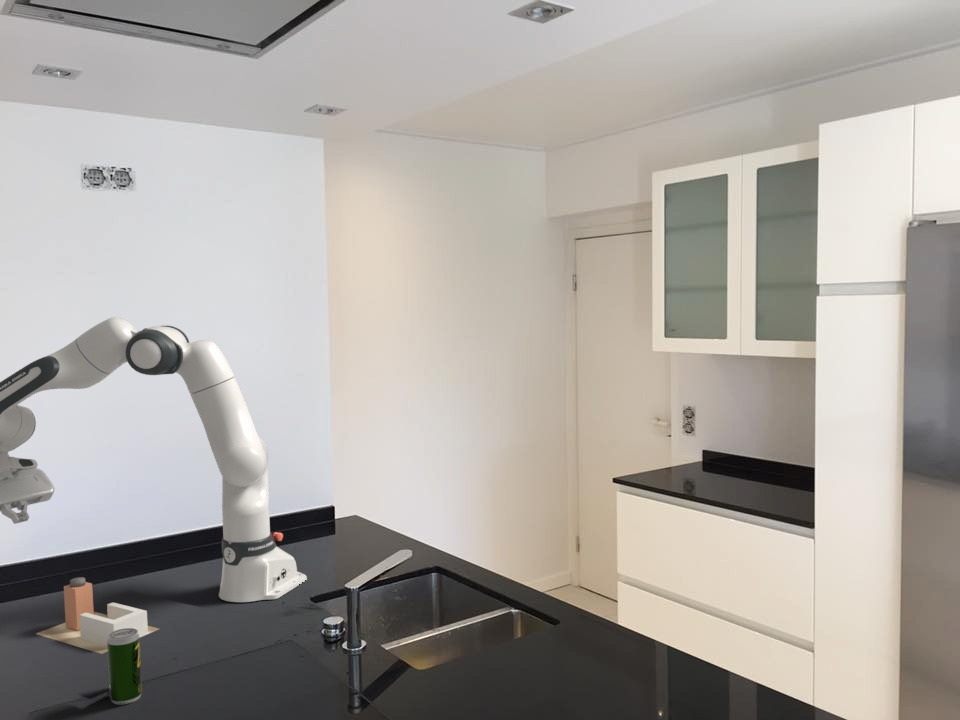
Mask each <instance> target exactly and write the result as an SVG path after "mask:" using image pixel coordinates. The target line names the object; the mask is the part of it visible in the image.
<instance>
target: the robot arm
mask: <svg viewBox="0 0 960 720" xmlns="http://www.w3.org/2000/svg"><path fill="white" fill-rule="evenodd" d="M125 363H128V365H129V366H130V368H132V369H133V370H134V371H135V372H137V373H139V374H142V375H145V376H160V375H173V374H178V375H179V376H181V378H182V379H183V381H184V383H185V385H186V388H187V390H188V393H189V394H190V398H191V400H192V402H193V405H194V406H195V409H196V411H197V413H198V416H199V417H200V420H201V423H202V425H203V429H204V431H205V434H206V437H207V440H208V443H209V447H210V449H211V452H212V454H213V457H214V459H215V462H216V465H217V467H218V470H219V473H220V474H221V476H222V479H221V480H222V481H221V482H222V486H221V487H222V493H221V494H222V495H221V496H222V502H221V506H222V507H221V510H222V534H223V535H222V536H223V537H222V538H221V554H222V557H223V558H222V568H221V579H220V580H221V581H220V584H219V592H218V598H219V599H220V600H223V601H225V602H230V603H251V602H256V601H257V602H258V601H262V600H263V601H265V600H277V599H279V598H280V597H283V595H286V594H287V593H288V592H290V591H292V590H294V589H296V587H298V586H300V585H301V584H303V583H304V582H306V581H307V580H308V577H307V575H306V574H304V573H302V572H300V571H298V567H297V562H296V560H295V557H293V556H292V555H291V554H290V553H288V552H286V551H284V550H283V549H281V548H280V547H278V546H277V544H276V541H278V542H282V540H283V538H284V534H283V533H282V532H273V533H272V532H271V525H270V524H271V521H270V492H269V491H270V490H269V489H270V488H269V487H270V486H269V460H268V459H269V456H268V455H269V454H268V447H267V445H266V443H265V441H264V439H262V437H260V436H259V435H258V433H257V429H256V427H255V424H254V422H253V418H252V416H251V413H250V410H249V407H248V404H247V403H246V400H245V398H244V396H243V392H242V390H241V388H240V386H239V383H238V381H237V378H236V376H235V374H234V371H233V370H232V367H231V366H230V363H229V362H228V360H227V358H226V357H225V355H224V353H223V351H222V350H221V348H220V347H219V346H218V344H217V343H215V342H214V341H212V340H209V339H208V340H207V339H201V340H196V341H192V342H190V340H189V337H188V336H187V335H186V333H185V332H184V331H183V330H181V329H179V328H177V327H175V326H172V325H155V326H150V327H146V328H143V329H142V330H138V329H137V328H136V327H135V326H134V325H133V324H132V323H131V322H129V321H128V320H126V319H124V318H121V317H117V316H115V317H110V318H107V319H105V320H103V321H101V322H99V323H98V324H95V325H94V326H93V327H91V328H89V329H88V330H86V331H85V332H83V333H82V334H80V335H79V336H77V338H75V339H74V340H72V341H71V342H70V343H68V344H66V345H65V346H64V347H62V348H60V349H58V350H56V351H54V352H52V353H51V354H48V355H46V356H43V357H41V358H37V359H35V360H34V361H32V362H30V363H28V364H26V365H24V366H23V367H22V368H20V369H19V370H17V371H16V372H14V373H12V374H11V375H9V376H7V377H6V378H5V379H3V380H1V381H0V512H1V514H2V515H3V516H5V517H6V518H8V519H11V521H12V523H13V524H20V523H24V522H28V520H29V519H30V515H29V513H28V512H27V511H28V506H30V505H35V504H39V503H43V502H48V501H50V500H51V498H52V497H53V495H54V493H55V489H56V487H55V486H54V483H52V481H51V480H50V477H49V476H48V475H47V474H46V473H45V471H43V470H42V469H40V468H38V465H39V464H38V461H36V459H33V458H21V457H15V456H10V455H9V452H12V451H13V450H15V449H17V448H18V447H21V446H22V445H23V444H24V443H26V442H27V441H29V439H30V438H32V436H33V435H34V433H35V430H36V426H37V425H36V423H37V422H36V417H35V414H34V413H33V411H32V410H31V409H30V408H28V407H26V406H22V405H19V404H21V403H22V402H24V401H25V400H27V399H28V398H31V396H33V395H35V394H37V393H40V392H41V393H42V392H44V391H49V390H58V389H59V390H63V389H69V390H70V389H72V390H82V389H88V388H91V387H93V386H95V385H97V384H98V383H100V382H101V381H103V380H105V379H106V378H107V377H109V376H110V375H111V374H113V372H115V371H116V370H117V369H118V368H120V367H121V366H122V365H124V364H125ZM15 508H16V509H17V510H18V511H20V512H15V511H14V510H13V509H15ZM305 580H306V581H305ZM302 582H303V583H302ZM299 584H300V585H299Z"/></svg>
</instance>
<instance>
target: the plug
mask: <svg viewBox="0 0 960 720" xmlns="http://www.w3.org/2000/svg"><path fill="white" fill-rule="evenodd" d="M93 592H94V591H93V583H92V582H87V581H86V577H83V576H80V577H79V576H78V577H74V578H71V579H69V584H67V585H64V586H63V599H64V618H65V622H66V627H67V628H71V629H74V630H80V616H79V615H81V614H83V613H90V614H93V615H94V612H95V611H94V610H95V609H94V593H93Z"/></svg>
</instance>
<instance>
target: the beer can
mask: <svg viewBox="0 0 960 720" xmlns="http://www.w3.org/2000/svg"><path fill="white" fill-rule="evenodd" d="M140 638H141V637H139V634H138V630H137V629H134V628H125V629H119V630H116V631H113V632H112V633H110V634H109V635H108V640H107V649H108V651H107V664H108V665H107V666H108V685H109V688H108V689H109V699H110V701H111V702H112V703H113V704H114V705H118V706H119V705H120V706H121V705H128V704H131V703H134V702H137V701H138V700H139V699H141V695H142V693H143V681H142V679H143V678H142V660H141V659H142V658H141V644H140V643H141V642H140Z"/></svg>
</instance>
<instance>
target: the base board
mask: <svg viewBox="0 0 960 720" xmlns="http://www.w3.org/2000/svg"><path fill="white" fill-rule="evenodd" d="M94 615H97V616H101V617H105V618H108V614H105V613H101V612H97V611H94ZM159 630H160V628H159V627H158V628H157V627H154V626H151V625H148V634H147V635H149V634H152V633H154V632H156V631H159ZM35 635H38V636H41V637H44V638H47V639H51V640H54V641H58V642H61V643H63V644H66V645H69V646H74V647H76V648H80V649H82V650H83V649H84V650H86V651H87V650H88V651H91V652H93V653H97V654H99V655H103V654H105V653H108V649H107V646H106V645H102V644H99V643H96V642H92V641H89V640H85V639H82V638H81V635H80V630H74V629H71V628H67V627H66V621H65V622H63V623H60V624H57V625H55V626H52V627H50V628H47V629H44V630H42V631H39V632H36V633H35ZM145 636H146V635H144V636H142V637H145ZM142 637H141V638H142Z"/></svg>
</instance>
